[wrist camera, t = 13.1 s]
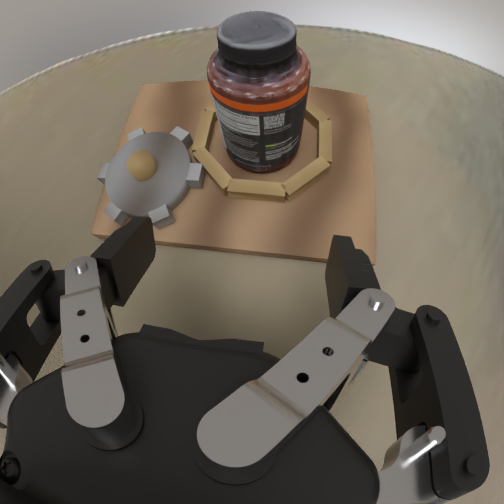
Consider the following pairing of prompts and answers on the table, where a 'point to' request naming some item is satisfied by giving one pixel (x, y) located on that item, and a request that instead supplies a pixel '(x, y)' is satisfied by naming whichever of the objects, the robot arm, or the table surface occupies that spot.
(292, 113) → the supplement bottle
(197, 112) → the board
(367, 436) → the table surface
